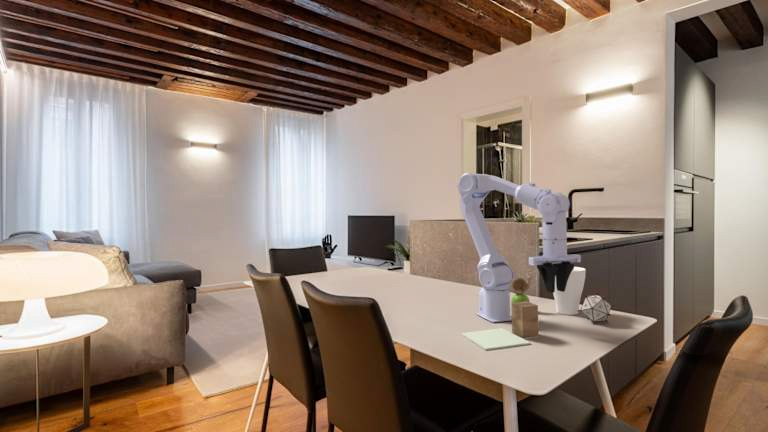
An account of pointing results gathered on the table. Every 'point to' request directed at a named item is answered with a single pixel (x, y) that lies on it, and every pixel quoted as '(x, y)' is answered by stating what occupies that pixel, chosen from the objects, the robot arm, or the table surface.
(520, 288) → the snail figurine
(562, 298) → the cup
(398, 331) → the table surface
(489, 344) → the mat
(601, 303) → the game die
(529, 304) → the wooden block
